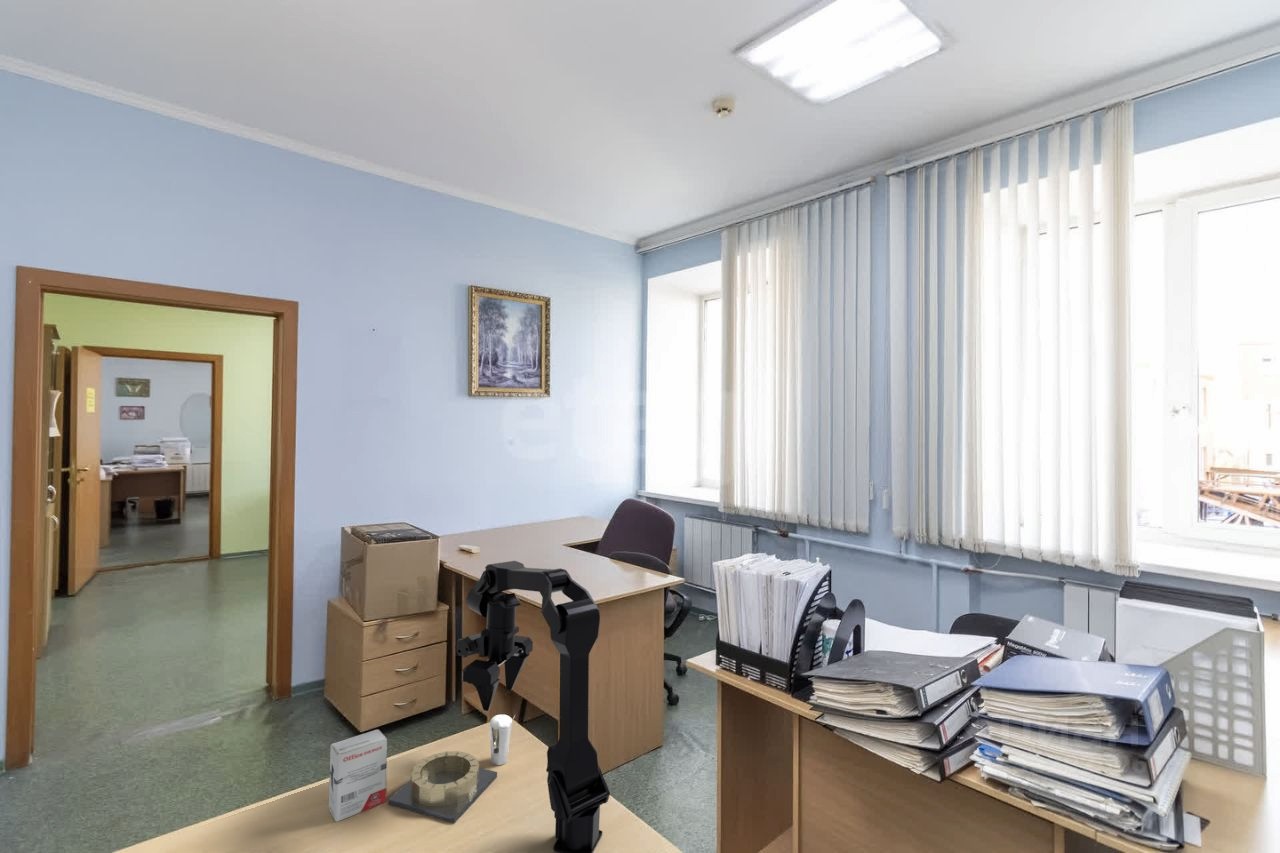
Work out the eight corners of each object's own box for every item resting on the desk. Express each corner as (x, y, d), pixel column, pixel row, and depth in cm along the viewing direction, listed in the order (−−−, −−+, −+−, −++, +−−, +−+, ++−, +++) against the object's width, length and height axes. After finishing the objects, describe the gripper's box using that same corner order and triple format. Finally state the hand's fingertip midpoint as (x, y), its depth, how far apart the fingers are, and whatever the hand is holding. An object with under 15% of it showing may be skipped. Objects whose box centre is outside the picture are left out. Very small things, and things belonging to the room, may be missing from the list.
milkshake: (508, 769, 117) (510, 720, 117) (484, 765, 118) (485, 716, 118) (517, 757, 122) (519, 709, 121) (494, 753, 123) (495, 706, 123)
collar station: (497, 777, 114) (497, 756, 114) (454, 823, 101) (455, 800, 101) (436, 762, 119) (437, 742, 119) (388, 804, 105) (388, 782, 105)
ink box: (377, 789, 109) (379, 726, 109) (386, 802, 106) (388, 737, 106) (327, 808, 104) (329, 742, 104) (335, 823, 100) (337, 754, 100)
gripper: (489, 605, 130) (486, 674, 130) (439, 634, 112) (436, 714, 112) (535, 611, 127) (532, 683, 127) (490, 642, 109) (487, 725, 109)
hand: (498, 699), depth 119 cm, fingers open, 9 cm apart
